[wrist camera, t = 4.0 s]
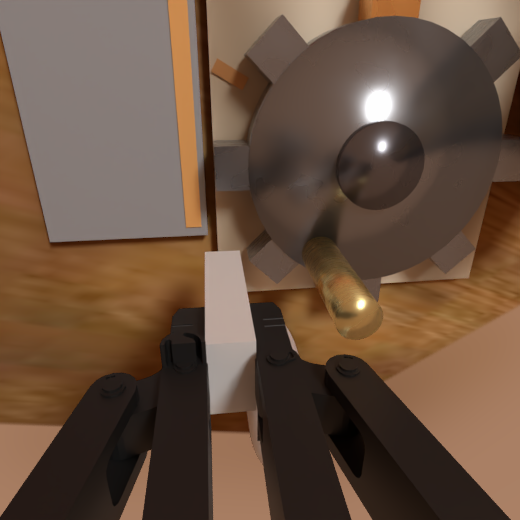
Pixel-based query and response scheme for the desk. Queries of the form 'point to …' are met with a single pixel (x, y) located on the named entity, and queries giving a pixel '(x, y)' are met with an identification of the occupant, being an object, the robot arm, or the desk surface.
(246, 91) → the plate
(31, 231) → the desk surface
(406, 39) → the sprocket
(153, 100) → the pad
